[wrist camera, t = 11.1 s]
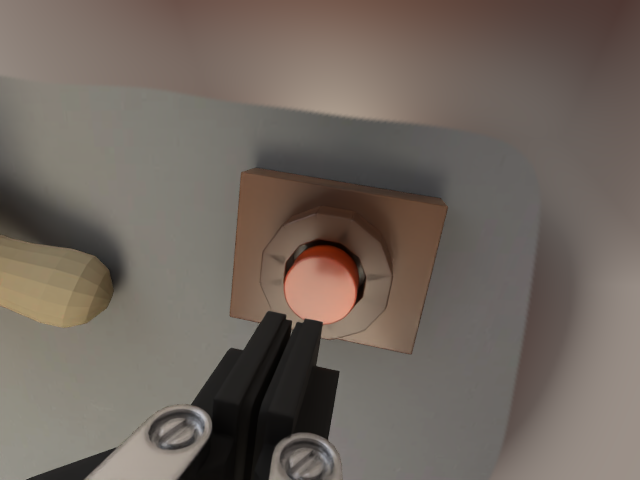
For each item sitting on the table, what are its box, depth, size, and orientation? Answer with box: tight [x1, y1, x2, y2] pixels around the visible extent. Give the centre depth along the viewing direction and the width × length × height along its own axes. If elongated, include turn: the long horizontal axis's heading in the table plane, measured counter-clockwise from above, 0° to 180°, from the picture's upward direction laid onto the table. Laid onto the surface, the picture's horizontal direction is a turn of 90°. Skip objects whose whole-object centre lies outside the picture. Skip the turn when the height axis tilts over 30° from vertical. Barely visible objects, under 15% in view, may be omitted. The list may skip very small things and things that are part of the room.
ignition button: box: [284, 245, 359, 325], centre depth 17 cm, size 3×3×2 cm
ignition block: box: [230, 168, 448, 354], centre depth 20 cm, size 10×8×4 cm
